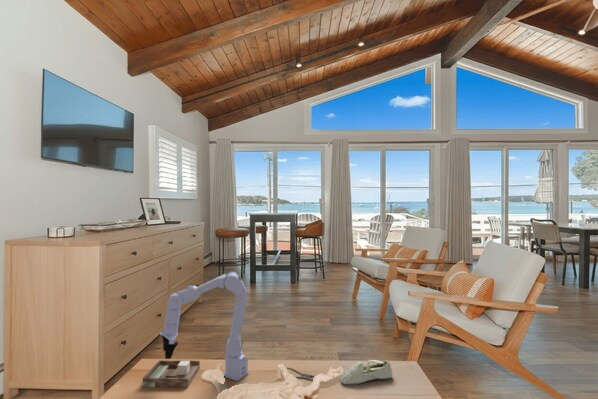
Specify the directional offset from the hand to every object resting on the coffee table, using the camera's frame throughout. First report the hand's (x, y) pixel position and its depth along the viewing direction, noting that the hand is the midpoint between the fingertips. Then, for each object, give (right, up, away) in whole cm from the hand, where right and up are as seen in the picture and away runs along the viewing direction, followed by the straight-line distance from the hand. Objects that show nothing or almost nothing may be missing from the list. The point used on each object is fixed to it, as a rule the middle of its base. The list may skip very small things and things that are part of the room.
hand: (167, 354), depth 140 cm
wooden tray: (+2, -11, +2) cm, 11 cm away
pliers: (+56, -12, +5) cm, 58 cm away
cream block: (+6, -9, +2) cm, 11 cm away
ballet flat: (+85, -12, +2) cm, 86 cm away
